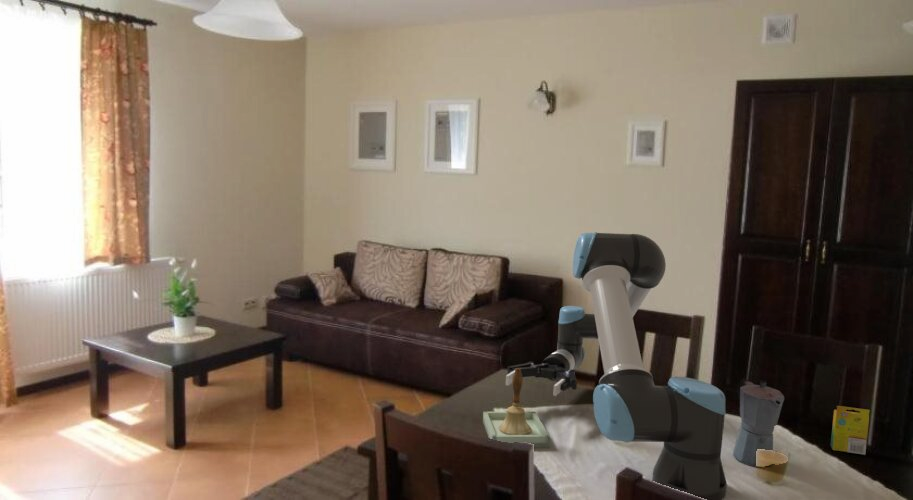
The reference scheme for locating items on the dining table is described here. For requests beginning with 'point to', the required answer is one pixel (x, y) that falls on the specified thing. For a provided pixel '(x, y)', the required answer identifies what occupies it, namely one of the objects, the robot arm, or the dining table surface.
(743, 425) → the moka pot
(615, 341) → the robot arm
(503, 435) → the tray
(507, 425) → the hand bell
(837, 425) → the crayon box
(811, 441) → the dining table surface
